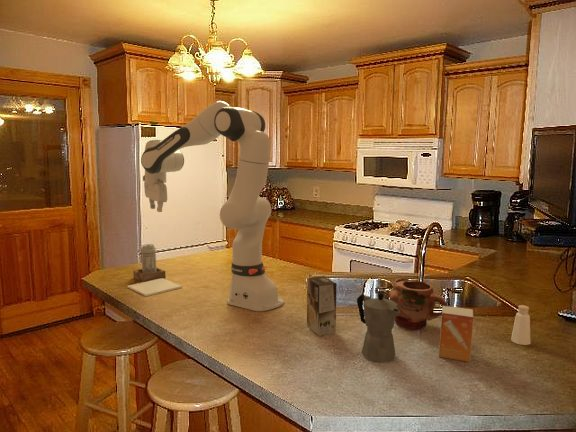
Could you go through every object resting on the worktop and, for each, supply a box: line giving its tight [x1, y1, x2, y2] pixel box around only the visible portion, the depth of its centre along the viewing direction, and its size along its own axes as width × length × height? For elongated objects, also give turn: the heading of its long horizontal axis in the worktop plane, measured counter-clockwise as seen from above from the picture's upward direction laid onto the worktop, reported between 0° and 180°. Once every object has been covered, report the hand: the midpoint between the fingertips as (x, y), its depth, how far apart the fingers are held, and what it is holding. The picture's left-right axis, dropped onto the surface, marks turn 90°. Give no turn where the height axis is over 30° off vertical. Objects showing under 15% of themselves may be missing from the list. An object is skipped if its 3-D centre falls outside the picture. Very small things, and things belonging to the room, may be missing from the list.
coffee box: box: [306, 275, 337, 337], centre depth 138 cm, size 9×6×16 cm
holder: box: [132, 266, 167, 283], centre depth 194 cm, size 10×10×4 cm
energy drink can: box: [140, 243, 157, 274], centre depth 193 cm, size 6×6×15 cm
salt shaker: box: [510, 304, 531, 346], centre depth 130 cm, size 5×5×11 cm
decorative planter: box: [388, 280, 448, 331], centre depth 141 cm, size 20×12×14 cm, turn 52°
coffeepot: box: [356, 292, 400, 363], centre depth 121 cm, size 15×9×18 cm, turn 35°
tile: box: [127, 278, 183, 297], centre depth 181 cm, size 16×16×1 cm
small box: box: [438, 305, 474, 363], centre depth 121 cm, size 8×6×13 cm
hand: (156, 210), depth 189 cm, fingers open, 8 cm apart
